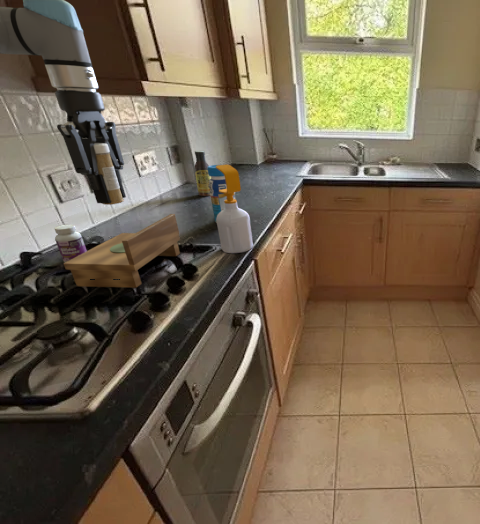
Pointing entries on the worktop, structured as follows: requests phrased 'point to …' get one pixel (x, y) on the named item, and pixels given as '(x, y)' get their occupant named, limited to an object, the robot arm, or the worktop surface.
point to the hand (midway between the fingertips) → (112, 199)
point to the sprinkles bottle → (108, 172)
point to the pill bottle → (69, 242)
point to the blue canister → (217, 189)
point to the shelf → (125, 255)
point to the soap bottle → (233, 216)
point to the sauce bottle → (202, 174)
